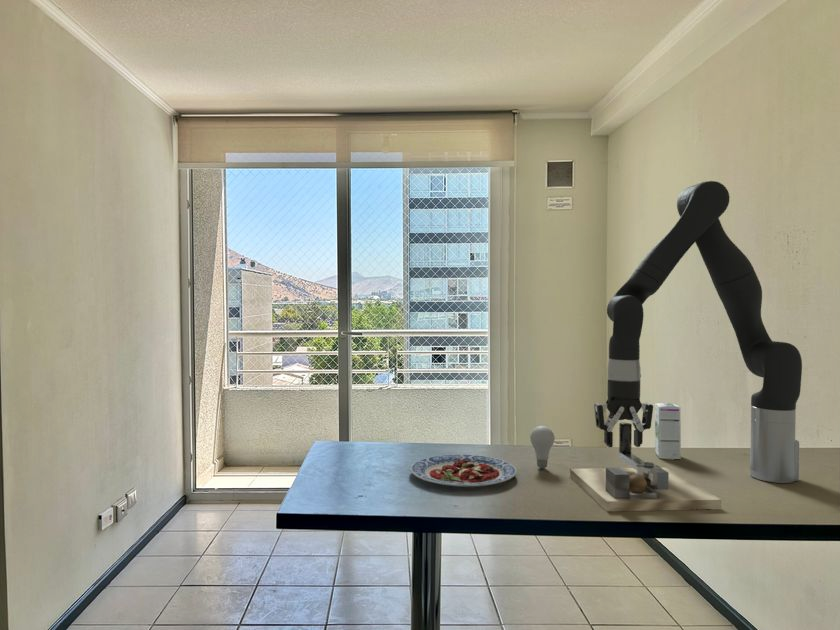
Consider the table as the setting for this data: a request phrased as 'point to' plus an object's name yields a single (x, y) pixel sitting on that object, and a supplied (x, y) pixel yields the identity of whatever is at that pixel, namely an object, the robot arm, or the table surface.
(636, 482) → the walnut
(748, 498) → the table surface
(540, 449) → the lightbulb
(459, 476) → the ceramic plate
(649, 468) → the lever
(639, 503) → the base
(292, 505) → the table surface
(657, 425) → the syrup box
